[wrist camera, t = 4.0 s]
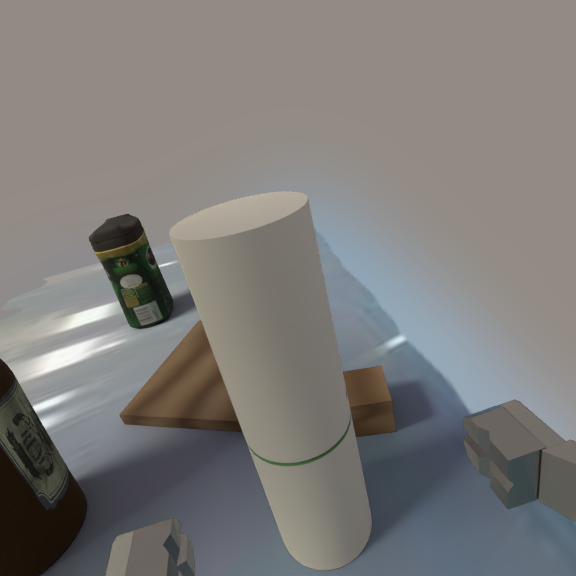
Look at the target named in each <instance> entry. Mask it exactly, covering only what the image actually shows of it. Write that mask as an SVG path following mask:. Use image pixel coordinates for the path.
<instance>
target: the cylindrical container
mask: <svg viewBox="0 0 576 576" xmlns="http://www.w3.org/2000/svg"><path fill="white" fill-rule="evenodd" d="M169 235H170V238H171V241H172V243H173V246H174V249H175V251H176V254H177V257H178V260H179V262H180V265H181V268H182V270H183V273H184V276H185V278H186V281H187V284H188V286H189V289H190V292H191V295H192V297H193V300H194V303H195V305H196V308H197V311H198V313H199V316H200V319H201V321H202V324H203V327H204V329H205V332H206V335H207V338H208V340H209V343H210V346H211V348H212V351H213V354H214V356H215V359H216V362H217V364H218V367H219V370H220V372H221V375H222V378H223V381H224V383H225V386H226V389H227V391H228V394H229V397H230V399H231V402H232V405H233V407H234V410H235V413H236V416H237V418H238V421H239V424H240V426H241V429H242V432H243V434H244V437H245V440H246V442H247V445H248V448H249V450H250V453H251V456H252V459H253V461H254V464H255V467H256V469H257V472H258V475H259V477H260V480H261V483H262V485H263V488H264V491H265V493H266V496H267V499H268V501H269V504H270V507H271V510H272V512H273V515H274V518H275V520H276V523H277V526H278V528H279V531H280V534H281V536H282V539H283V542H284V544H285V546H286V548H287V550H288V552H289V553H290V554H291V555H292V556H293V557H294V559H295V560H297V561H298V562H300V563H301V564H302V565H304V566H307V567H309V568H312V569H316V570H333V569H337V568H340V567H342V566H344V565H346V564H348V563H350V562H351V561H353V560H354V559H355V558H356V557H358V555H359V554H360V553H361V552H362V550H363V549H364V548H365V546H366V544H367V542H368V540H369V537H370V533H371V527H372V518H371V511H370V506H369V501H368V496H367V491H366V486H365V481H364V476H363V471H362V466H361V461H360V456H359V451H358V446H357V441H356V436H355V431H354V426H353V421H352V416H351V411H350V406H349V401H348V396H347V391H346V386H345V381H344V376H343V371H342V366H341V361H340V356H339V351H338V346H337V341H336V336H335V331H334V326H333V321H332V316H331V311H330V306H329V301H328V296H327V290H326V285H325V280H324V275H323V270H322V265H321V260H320V255H319V250H318V245H317V240H316V235H315V230H314V225H313V221H312V216H311V210H310V205H309V200H308V197H307V196H306V195H305V194H303V193H300V192H289V191H287V192H272V193H264V194H258V195H253V196H248V197H244V198H240V199H236V200H232V201H228V202H225V203H221V204H219V205H216V206H213V207H210V208H207V209H205V210H202V211H200V212H197V213H195V214H193V215H191V216H189V217H187V218H185V219H183V220H181V221H180V222H178V223H177V224H175V225H174V226H173V227H172V228H171V230H170V232H169Z"/></svg>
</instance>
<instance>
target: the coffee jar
mask: <svg viewBox="0 0 576 576" xmlns="http://www.w3.org/2000/svg"><path fill="white" fill-rule="evenodd" d="M89 241H90V242H91V245H92V247H93V249H94V251H95V254H96V255H97V257H98V258H99V260H100V262H101V263H102V265H103V267H104V269H105V271H106V273H107V275H108V278H109V280H110V282H111V284H112V286H113V289H114V291H115V293H116V295H117V297H118V300H119V302H120V305H121V307H122V309H123V312H124V314H125V316H126V319H127V321H128V323H129V325H130V326H131V327H133V328H145V327H149V326H152V325H155V324H156V323H158V322H160V321H162V320H164V319H166V318H167V317H168V316H169V315H170V313H171V310H172V306H173V299H172V297H171V295H170V292H169V290H168V288H167V285H166V283H165V281H164V279H163V276H162V274H161V272H160V269H159V267H158V265H157V262H156V260H155V258H154V255H153V253H152V250H151V248H150V245H149V242H148V240H147V237H146V234H145V231H144V229H143V227H142V225H141V222H140V221H139V219H138V218H136V217H134V216H131V215H129V214H125V215H121V216H117V217H114V218H110V219H107V220H106V222H105V223H104V224H103V225H101V226H100V227H99V228H98V229H97V230H96V231H94V233H93V234H92V235H90V237H89Z"/></svg>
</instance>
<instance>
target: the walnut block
mask: <svg viewBox="0 0 576 576" xmlns="http://www.w3.org/2000/svg"><path fill="white" fill-rule="evenodd" d="M343 376H344V381H345V386H346V391H347V396H348V401H349V406H350V411H351V416H352V421H353V426H354V431H355V436H356V437H362V436H369V435H376V434H383V433H390V432H396V426H395V418H394V411H393V404H392V399H391V396H390V392H389V389H388V386H387V383H386V380H385V377H384V374H383V370H382V367H381V366H377V367H371V368H364V369H358V370H352V371H346V372H343Z"/></svg>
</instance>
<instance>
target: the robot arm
mask: <svg viewBox="0 0 576 576" xmlns="http://www.w3.org/2000/svg"><path fill="white" fill-rule="evenodd" d="M463 427H464V429H465V430H466V431H467V432H468V433H467V435H466V437H465V438H464V444H465V450H466V452H467V455H468V457H469V459H470V461H471V463H472V464H473V466H474V467H475V468H476V470H477V471H478V472H479V473H480V474H482V475H484V476H486V477H488V478H490V488H491V489H492V490H493V491H494V493H495V494H496V495H497V496H498V498H499V499H500V500H501V502H502V503H503V504H504V505H505V507H506V508H507V509H511V508H514V507H517V506H520V505H523V504H526V503H529V502H532V501H535V500H538V499H539V502H541V503H543V504H544V505H546V506H548V507H550V508H551V509H553V510H555V511H557V512H558V513H560V514H562V515H564V516H565V517H567V518H569V519H571V520H572V521H574V522H576V441H573V440H569V441H565V440H564V439H562V438H561V437H560V436H559V435H558V434H557V433H556V432H554V431H553V430H552V429H551V428H550V427H548V426H547V425H546V424H545V423H544V422H543V421H542V420H540V419H539V418H538V417H537V416H536V415H534V414H533V413H532V412H531V411H530V410H529V409H528V408H526V407H525V406H524V405H523V404H522V403H521V402H520V401H517V400H512V401H509V402H506V403H503V404H500V405H498V406H494V407H491V408H488V409H485V410H483V411H480V412H477V413H474V414H471V415H469V416H466V417H465V418H464V420H463ZM106 576H195V560H194V553H193V548H192V545H191V542H190V540H189V538H188V536H187V535H184V534H182V533H181V524H180V522H179V520H178V519H177V517H175V518H172V519H168V520H165V521H162V522H159V523H156V524H153V525H149V526H146V527H143V528H140V529H137V530H134V531H131V532H128V533H125V534H122V535H119V536H117V537H116V539H115V541H114V542H113V545H112V549H111V554H110V558H109V562H108V567H107V571H106Z"/></svg>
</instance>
